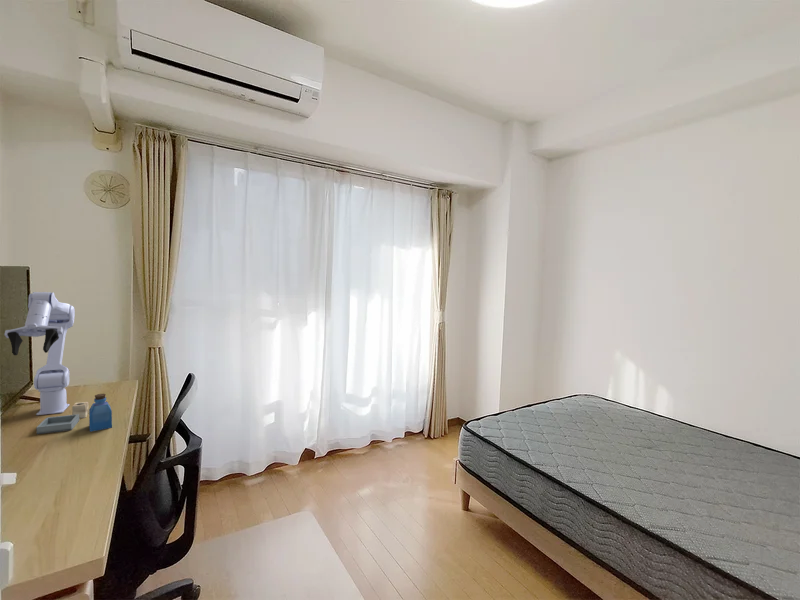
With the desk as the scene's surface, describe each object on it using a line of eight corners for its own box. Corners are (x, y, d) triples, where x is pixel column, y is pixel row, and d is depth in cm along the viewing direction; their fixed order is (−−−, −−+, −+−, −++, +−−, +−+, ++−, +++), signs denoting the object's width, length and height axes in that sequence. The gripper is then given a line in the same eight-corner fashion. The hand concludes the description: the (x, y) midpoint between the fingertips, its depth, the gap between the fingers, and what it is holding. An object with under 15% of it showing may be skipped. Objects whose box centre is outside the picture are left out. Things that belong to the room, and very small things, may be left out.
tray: (46, 424, 139) (46, 417, 139) (79, 420, 144) (79, 414, 143) (36, 434, 131) (36, 427, 131) (71, 430, 135) (71, 423, 135)
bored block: (75, 415, 148) (75, 402, 148) (88, 414, 150) (88, 401, 150) (72, 419, 145) (72, 406, 144) (85, 417, 147) (85, 405, 146)
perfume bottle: (90, 431, 135) (89, 399, 134) (89, 425, 140) (89, 394, 139) (111, 427, 139) (111, 395, 138) (110, 422, 144) (110, 391, 143)
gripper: (5, 314, 127) (-5, 348, 120) (61, 311, 134) (54, 343, 127) (13, 326, 132) (3, 359, 125) (66, 323, 139) (61, 354, 132)
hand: (30, 352), depth 126 cm, fingers open, 7 cm apart
